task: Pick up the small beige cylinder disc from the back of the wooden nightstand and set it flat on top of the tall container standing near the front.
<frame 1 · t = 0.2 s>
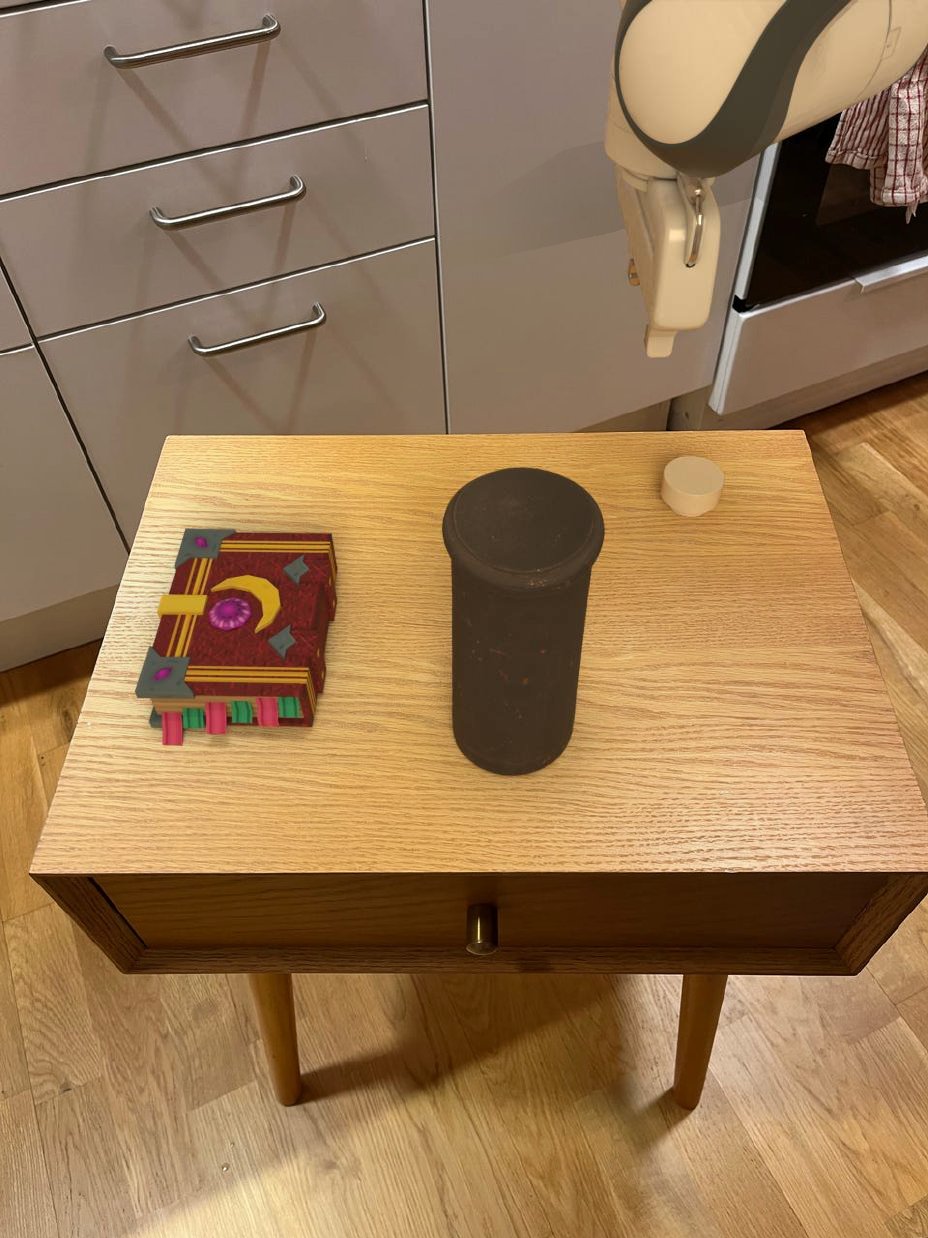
hand: (647, 314, 72), 14 cm above the table, tool pointing down, fingers open, 8 cm apart
beige cylinder disc: (688, 502, 79), on the table
decorative book: (252, 653, 70), on the table
container: (513, 727, 65), on the table
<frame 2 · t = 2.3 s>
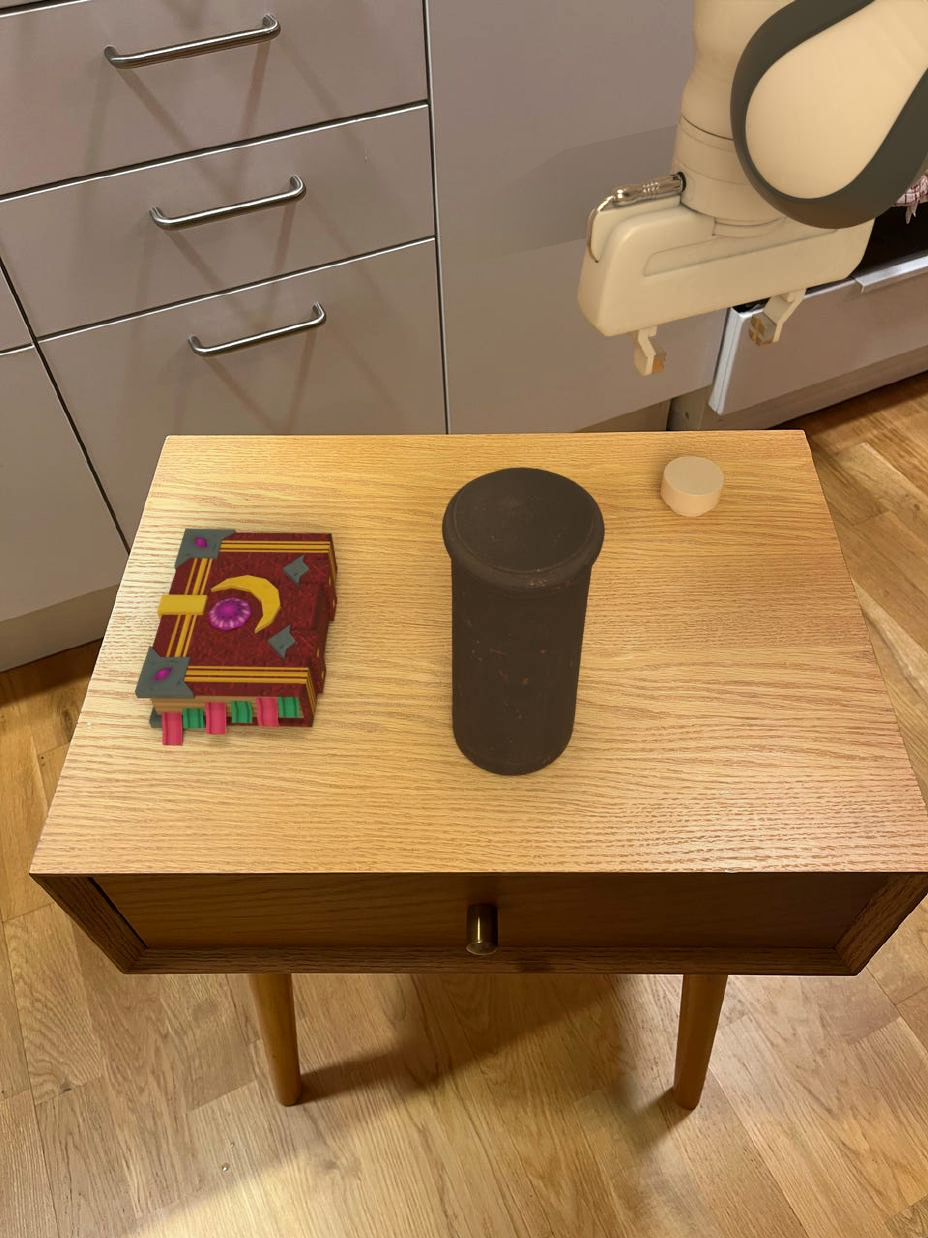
hand: (705, 354, 69), 14 cm above the table, tool pointing down, fingers open, 8 cm apart
nothing on the table moved.
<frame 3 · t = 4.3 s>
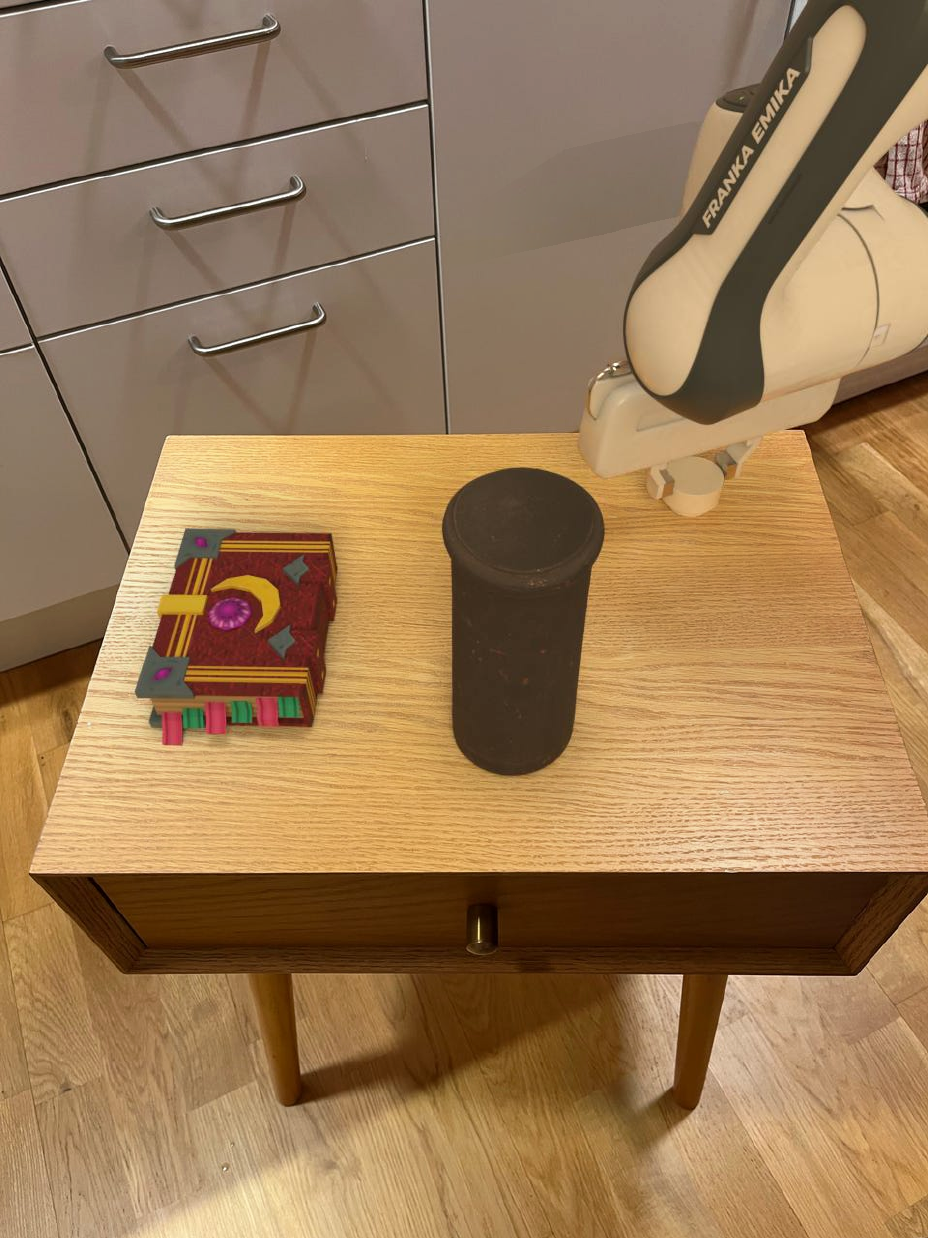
hand: (692, 483, 77), 2 cm above the table, tool pointing down, fingers closed on beige cylinder disc, 5 cm apart
beige cylinder disc: (687, 502, 79), on the table, touching gripper
everything else where it was.
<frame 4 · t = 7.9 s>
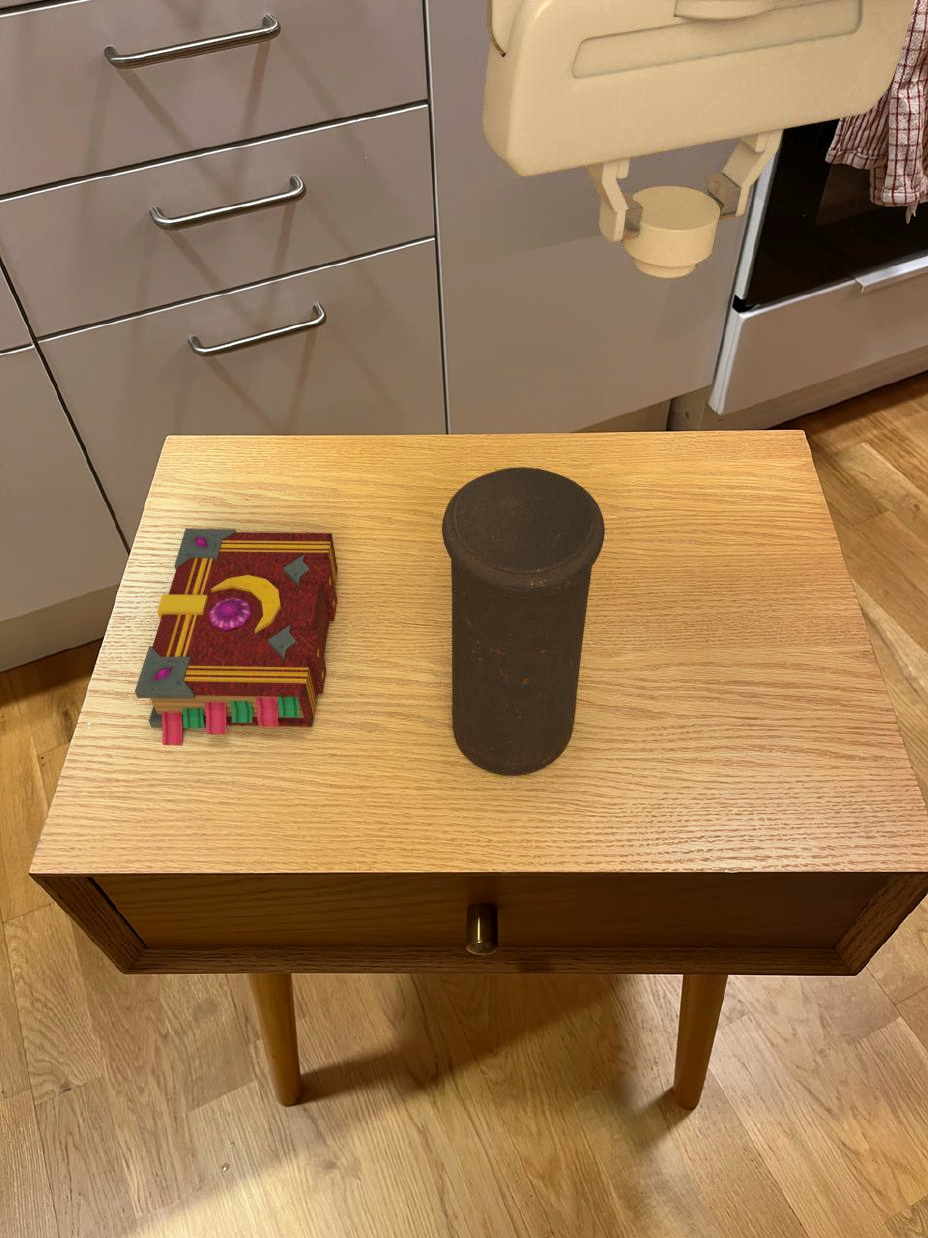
hand: (671, 224, 50), 29 cm above the table, tool pointing down, fingers closed on beige cylinder disc, 5 cm apart
beige cylinder disc: (664, 261, 52), point 27 cm above the table, touching gripper
everything else where it was.
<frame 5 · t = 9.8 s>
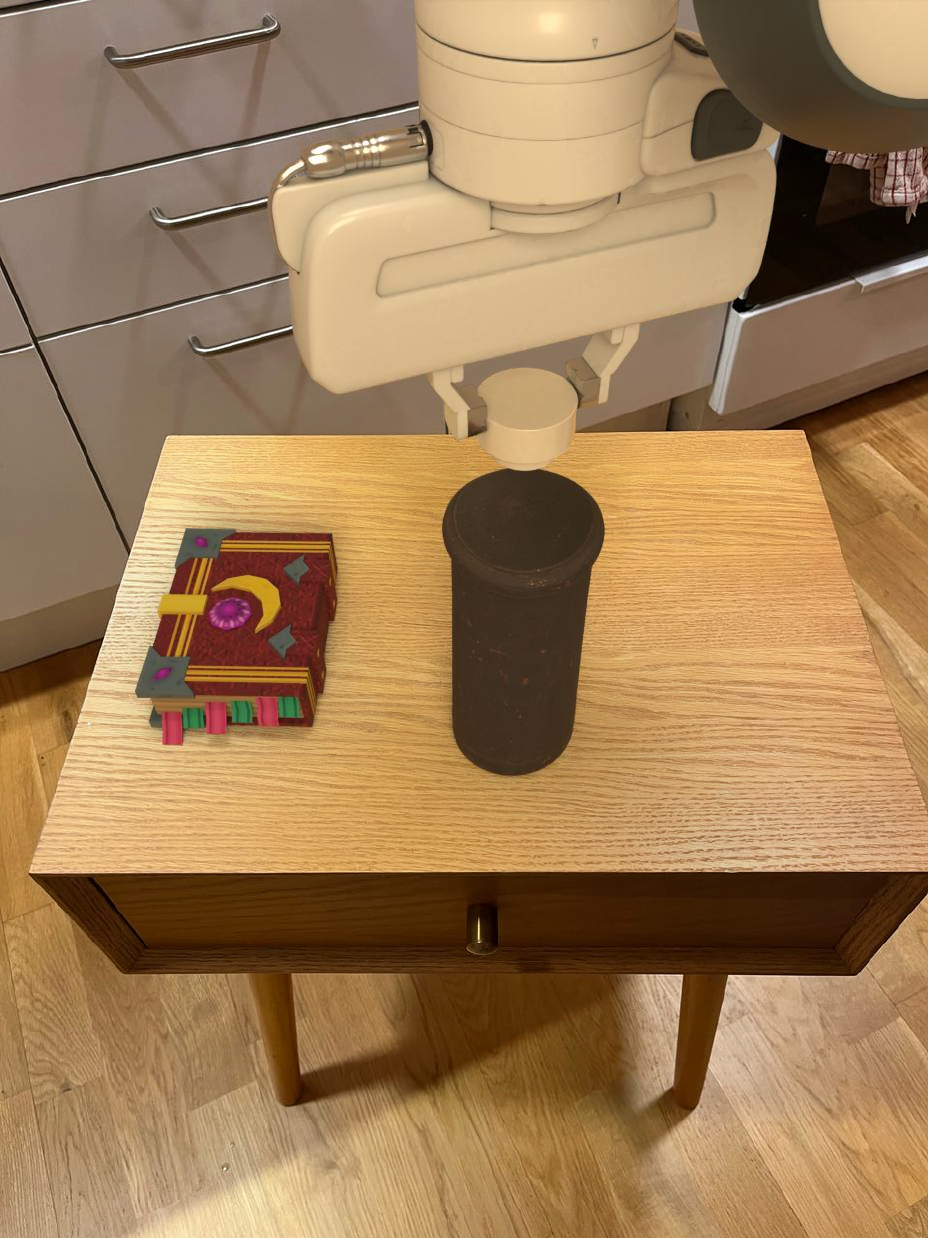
hand: (527, 413, 45), 26 cm above the table, tool pointing down, fingers closed on beige cylinder disc, 5 cm apart
beige cylinder disc: (524, 448, 47), point 24 cm above the table, touching gripper
everything else where it was.
when the fingers open (22 cm above the table, at t = 11.4 s): beige cylinder disc stays where it is, resting on container.
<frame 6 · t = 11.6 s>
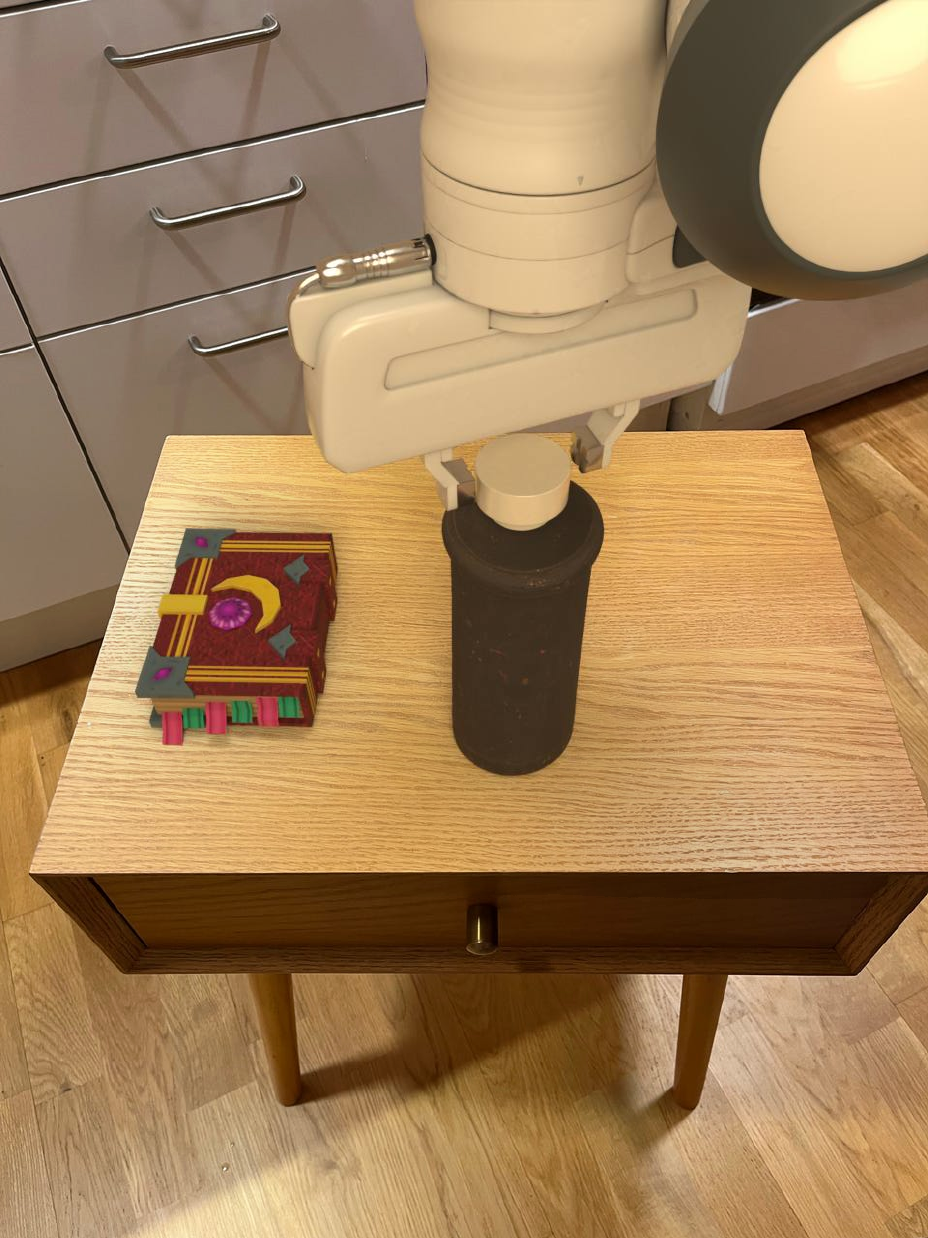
hand: (523, 481, 48), 22 cm above the table, tool pointing down, fingers open, 6 cm apart
beige cylinder disc: (520, 508, 50), point 20 cm above the table, touching container
container: (513, 727, 65), on the table, touching beige cylinder disc
everything else where it was.
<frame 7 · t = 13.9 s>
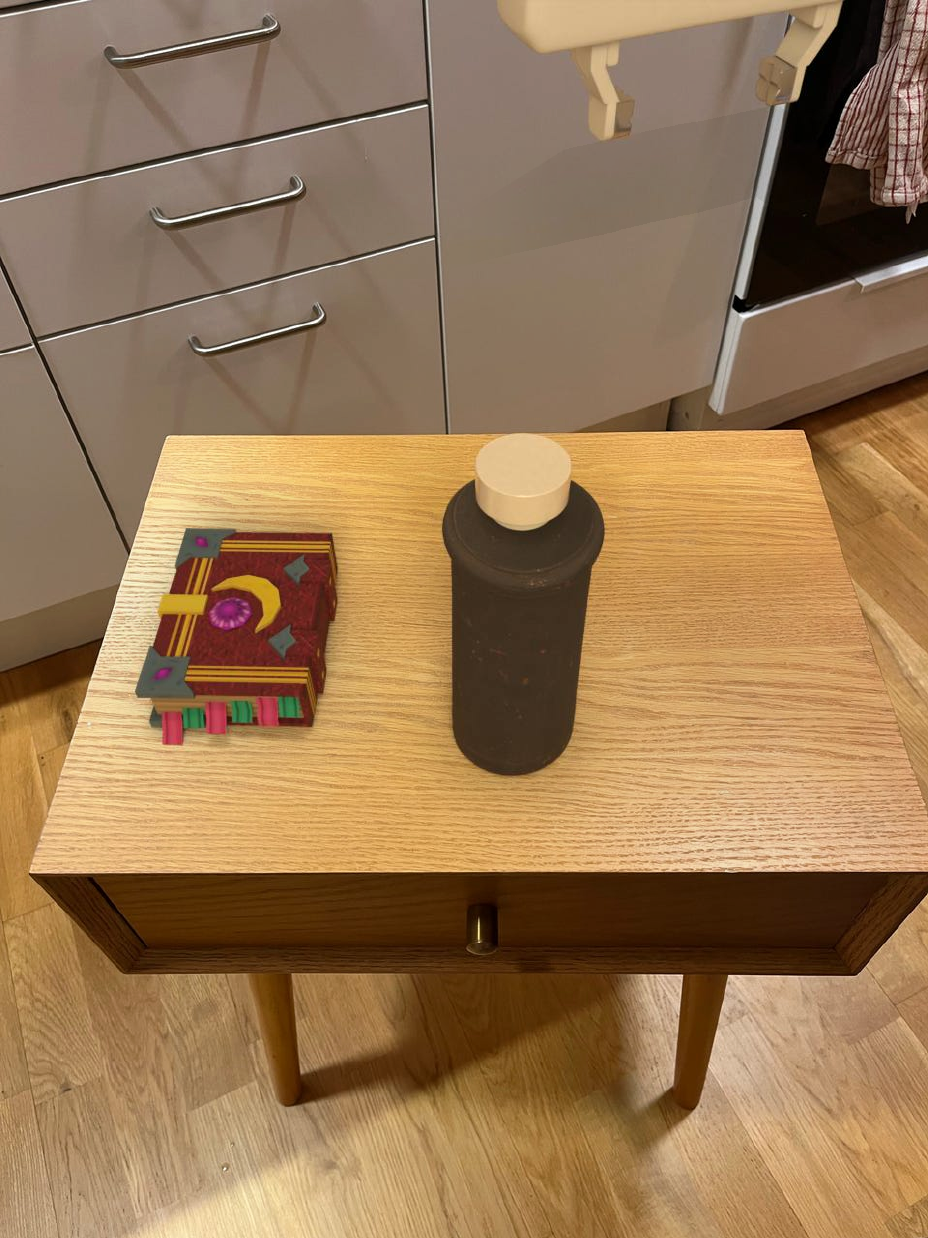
hand: (693, 116, 48), 34 cm above the table, tool pointing down, fingers open, 8 cm apart
nothing on the table moved.
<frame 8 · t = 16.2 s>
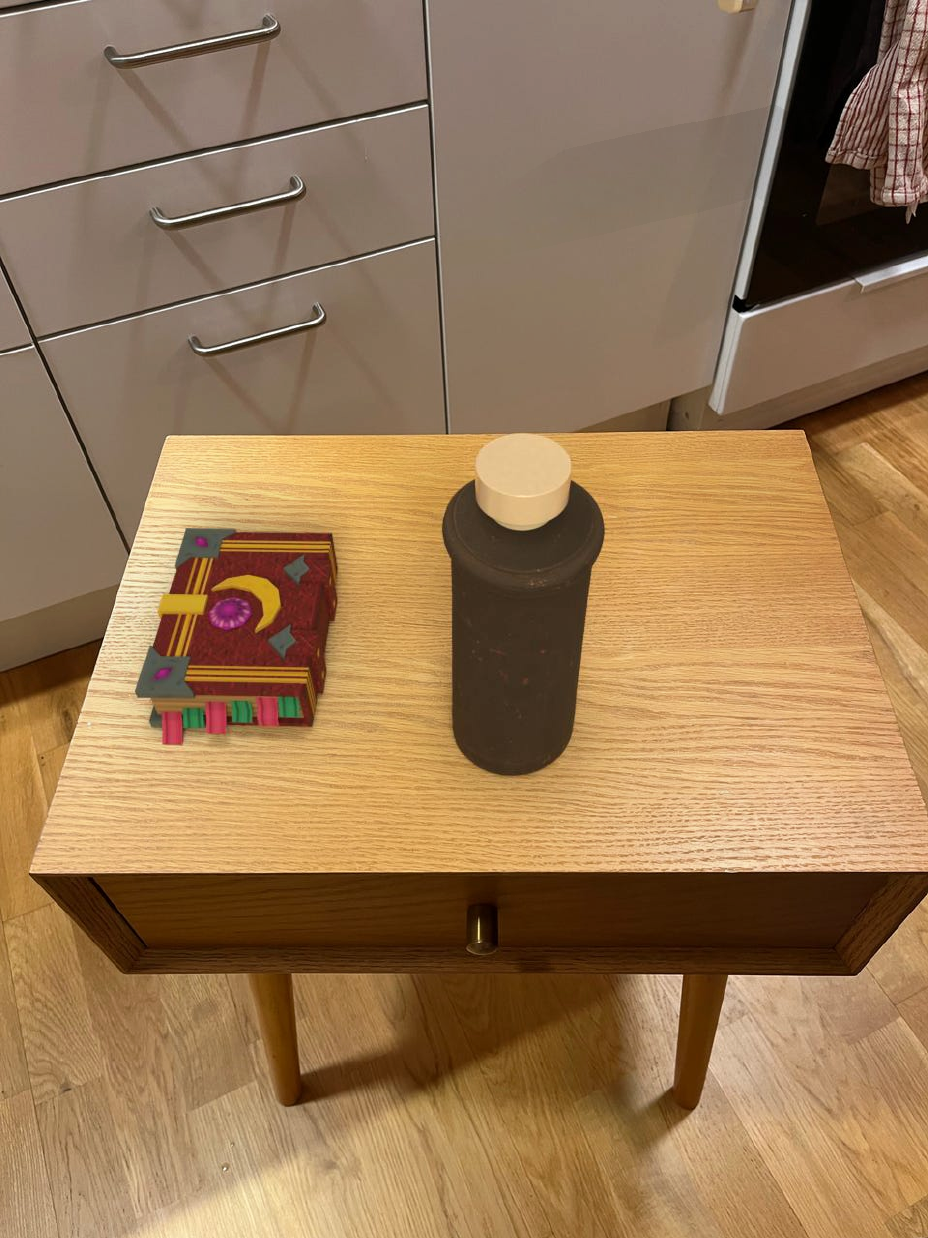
nothing on the table moved.
at the end: beige cylinder disc 0.1 cm off-centre on the container, point 20.2 cm above the container's base; beige cylinder disc tilted 0°; container tilted 0° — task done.
